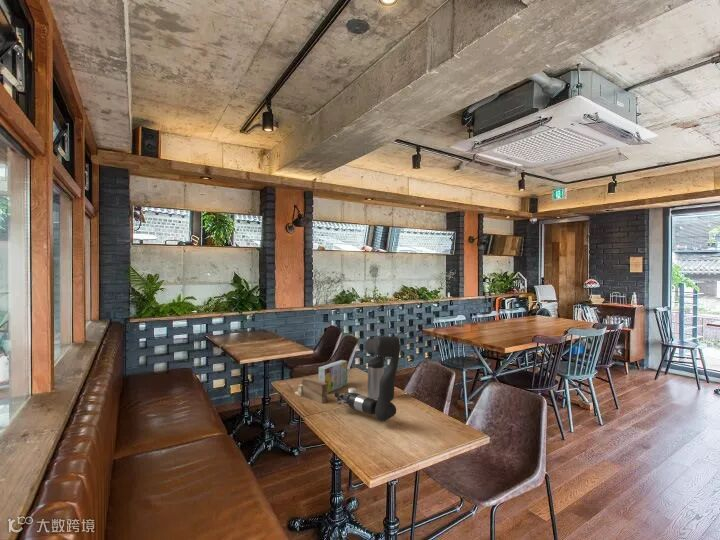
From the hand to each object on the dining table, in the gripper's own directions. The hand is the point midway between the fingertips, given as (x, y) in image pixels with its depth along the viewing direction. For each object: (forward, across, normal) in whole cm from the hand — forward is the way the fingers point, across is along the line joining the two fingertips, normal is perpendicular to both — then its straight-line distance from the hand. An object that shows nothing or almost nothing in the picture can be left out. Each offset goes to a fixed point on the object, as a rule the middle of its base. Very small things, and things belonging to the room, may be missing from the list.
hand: (335, 394), depth 200 cm
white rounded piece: (0, -13, +6) cm, 14 cm away
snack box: (+21, -19, +7) cm, 29 cm away
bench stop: (+27, -2, +6) cm, 28 cm away
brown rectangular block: (+16, 0, +6) cm, 17 cm away
